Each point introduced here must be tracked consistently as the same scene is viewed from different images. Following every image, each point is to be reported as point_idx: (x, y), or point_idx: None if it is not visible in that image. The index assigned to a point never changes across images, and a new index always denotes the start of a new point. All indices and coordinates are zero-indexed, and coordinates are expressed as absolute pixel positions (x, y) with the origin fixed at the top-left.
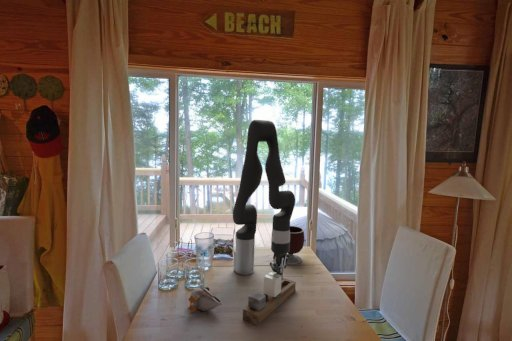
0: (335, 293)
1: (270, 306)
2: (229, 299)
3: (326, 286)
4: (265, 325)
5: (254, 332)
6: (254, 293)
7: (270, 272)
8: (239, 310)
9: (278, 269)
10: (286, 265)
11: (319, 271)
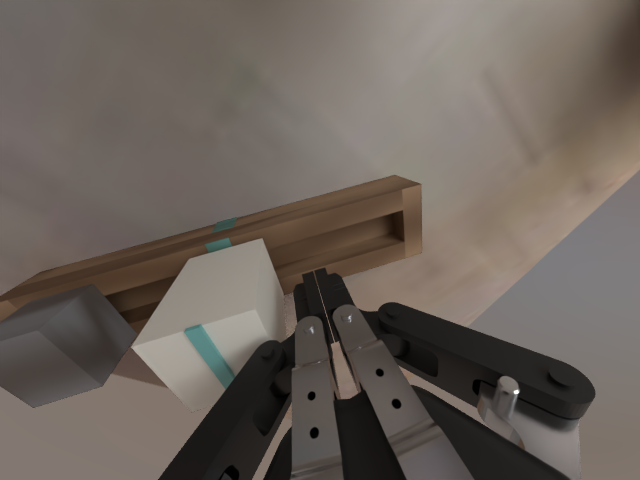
0: (464, 314)
1: None
2: (7, 59)
3: (493, 274)
4: None
5: None
6: (24, 347)
7: (243, 315)
8: (47, 207)
9: (273, 421)
10: (422, 350)
11: (606, 181)
